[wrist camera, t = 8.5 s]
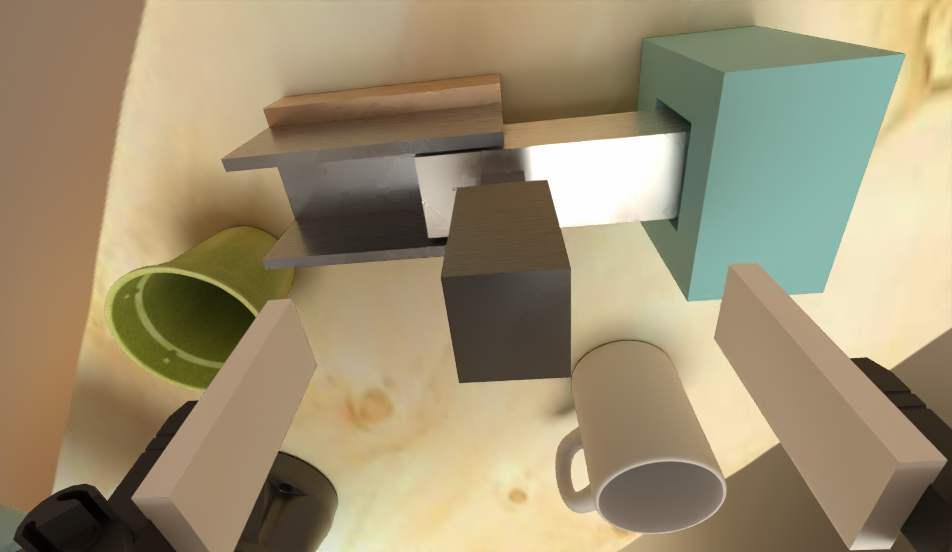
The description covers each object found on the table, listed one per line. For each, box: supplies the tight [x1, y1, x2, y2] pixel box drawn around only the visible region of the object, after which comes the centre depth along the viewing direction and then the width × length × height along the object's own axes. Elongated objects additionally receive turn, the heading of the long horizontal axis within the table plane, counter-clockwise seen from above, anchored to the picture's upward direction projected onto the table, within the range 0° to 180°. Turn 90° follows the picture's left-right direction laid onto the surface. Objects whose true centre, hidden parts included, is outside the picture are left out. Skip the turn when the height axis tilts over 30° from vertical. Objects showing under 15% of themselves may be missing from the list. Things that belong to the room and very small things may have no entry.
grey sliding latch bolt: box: [414, 108, 692, 383], centre depth 20 cm, size 16×4×15 cm, turn 96°
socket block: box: [637, 26, 906, 301], centre depth 24 cm, size 6×10×11 cm, turn 6°
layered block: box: [221, 74, 504, 270], centre depth 26 cm, size 13×8×8 cm, turn 96°
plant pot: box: [104, 226, 294, 392], centre depth 31 cm, size 9×9×9 cm
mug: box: [555, 340, 727, 534], centre depth 36 cm, size 12×8×11 cm
